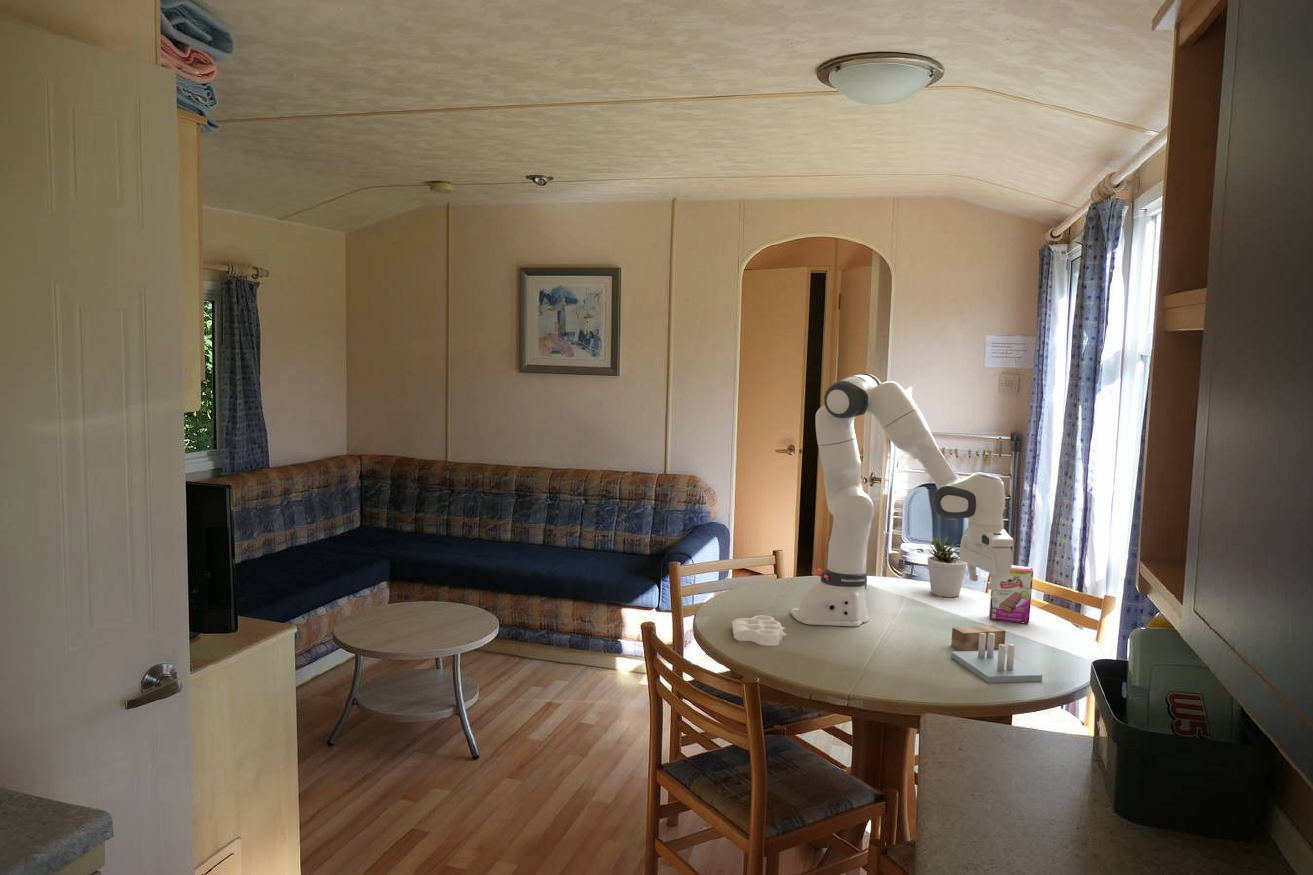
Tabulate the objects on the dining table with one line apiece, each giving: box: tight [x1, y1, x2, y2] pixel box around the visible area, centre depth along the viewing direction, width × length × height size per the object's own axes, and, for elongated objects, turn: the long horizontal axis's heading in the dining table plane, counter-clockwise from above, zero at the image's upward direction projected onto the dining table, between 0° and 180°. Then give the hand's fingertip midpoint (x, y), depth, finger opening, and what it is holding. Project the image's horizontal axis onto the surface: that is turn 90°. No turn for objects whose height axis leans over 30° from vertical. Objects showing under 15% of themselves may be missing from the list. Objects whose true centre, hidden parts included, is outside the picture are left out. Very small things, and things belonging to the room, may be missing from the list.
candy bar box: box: [988, 564, 1034, 624], centre depth 260 cm, size 11×5×16 cm, turn 71°
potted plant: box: [927, 532, 967, 598], centre depth 288 cm, size 13×14×20 cm
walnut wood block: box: [950, 624, 1007, 651], centre depth 234 cm, size 13×5×5 cm, turn 106°
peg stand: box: [950, 633, 1043, 684], centre depth 216 cm, size 14×18×8 cm
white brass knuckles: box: [731, 614, 788, 647], centre depth 238 cm, size 3×18×15 cm
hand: (982, 585), depth 233 cm, fingers open, 8 cm apart
